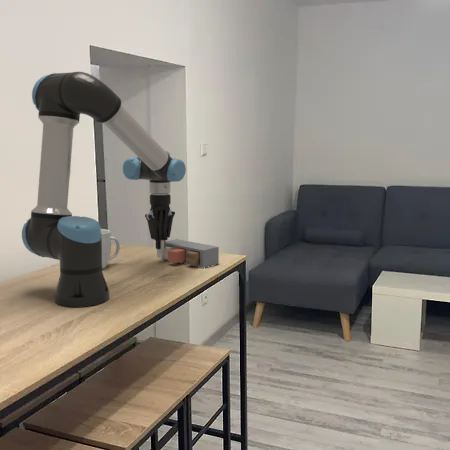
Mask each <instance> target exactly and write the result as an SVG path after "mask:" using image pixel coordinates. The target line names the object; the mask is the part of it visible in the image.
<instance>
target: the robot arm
mask: <svg viewBox="0 0 450 450" xmlns="http://www.w3.org/2000/svg"><path fill="white" fill-rule="evenodd" d="M31 98H32V99H31V100H32V104H33V105H35V109H36V110H37V111H38V120H40V122H41V123H42V137H41V151H40V163H39V165H40V166H39V177H38V187H37V188H38V190H37V191H38V192H37V201H36V204H37V205H36V206H35V207H33V209H31V212H30V218H29V219H27V220H26V222H25V223H24V224H23V226H22V229H21V239H22V243H23V245H24V247H25V248H26V249H27V250H28V251H29V252H30V253H31V254H33V255H36V256H38V257H41V258H49V259H53V260H59V276H58V277H59V278H58V281H57V285H56V288H55V291H54V301H55V303H56V304H57V305H60V306H63V307H71V308H72V307H73V308H79V307H80V308H81V307H90V306H91V307H92V306H96V305H100V304H103V303H105V302H107V301H108V300H109V299H110V290H109V287H108V284H107V282H106V278H105V275H104V273H103V269H102V234H101V229H102V228H101V224H100V222H99V221H97V220H96V219H94V218H92V217H89V216H88V217H87V216H79V215H73V213H72V212H71V211H70V210H69V208H68V203H69V190H70V177H71V163H72V150H73V138H74V128H75V127H76V126H77V125H78V124H79V123H80V118H81V114H82V115H85V116H86V115H87V116H88V117H90V118H91V119H93V120H94V121H95V122H96V123H98V124H102V125H103V124H104V126H106V127H107V129H108V130H109V131H110V132H112V133H113V134H114V135H115V136H116V137H117V139H119V140H120V141H121V142H122V143H123V144H124V145H125V146H126V147H127V148H128V149H129V150H130V151H131V152H132V153H134V154H135V156H137V157H135V156H133V157H127V158H126V159H125V160H124V162H123V164H122V172H123V175H124V177H125V178H126V179H128V180H132V181H133V180H134V181H138V180H146V181H149V193H150V195H149V204H150V210H149V212H148V213H145V214H144V218H145V219H146V221H147V224H148V231H149V235H150V239H152V240H153V241H154V242H155V250H156V258H159V259H161V258H165V250H164V248H165V247H166V241H169V238H170V237H171V233H172V232H171V231H172V226H173V221H174V218H175V217H174V216H175V214H176V212H175V211H173V210H171V207H170V205H171V202H172V201H171V197H172V196H171V194H170V193H171V183H173V182H174V183H175V182H181V181H183V179H184V178H185V175H186V171H187V170H186V169H187V168H186V165H185V162H184V161H183V160H182V159H180V158H175V157H174V158H172V157H171V153H170V152H169V151H167V150H166V151H165V149H164V148H163V147H162V146H161V145H160V144H159V143H158V142H157V141H156V140H155V139H154V138H153V137H152V136H151V135H150V133H149V132H148V131H147V130H145V128H144V127H143V126H142V125H141V124H140V122H138V120H136V119H135V118H134V117H133V116H132V114H131V113H130V112H129V111H128V110H127V109H126V108H125V107H124V106H123V101H122V99H121V98H120V97H119V96H118V94H117V93H115V92H114V91H113V89H111V88H110V87H109V86H108V85H107V84H105V83H104V82H103V81H102V80H101V79H99V78H97V77H95V76H94V75H93V74H89V73H88V72H84V71H71V72H57V73H56V72H52V73H50V74H46V75H43V76H41V77H40V78H39V79H37V81H36V82H35V84H34V85H33V88H32V91H31Z"/></svg>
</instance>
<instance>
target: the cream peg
mask: <svg viewBox="0 0 450 450" xmlns="http://www.w3.org/2000/svg"><path fill="white" fill-rule="evenodd" d="M164 250H165V258H166V259H168V250H173V246H168V245H166V247H165V248H164Z"/></svg>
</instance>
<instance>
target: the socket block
mask: <svg viewBox="0 0 450 450" xmlns="http://www.w3.org/2000/svg"><path fill="white" fill-rule="evenodd" d="M166 245H168V246H173V249H178V248H183V249H186V252H190V251H198V252H200V264H197V265H194V266H193V267H195V266H199V267H198V268H200V267H203V268H202V269H205V268H204V267H207V268H209V267H208V266H210V267H213V266H212V265H214V266H217V265H216V264H218V265H219V261H220V260H219V258H220V257H219V255H220V254H219V251H220V250H219V249H220V247H219V246H215V245H210V244H206V243H205V244H204V243H199V242H195V241H190V240H189V241H188V240H184V239H180V238H179V239H178V238H174V239H170V240H169V239H168V240H166ZM160 259H161V260H165V261H168V259H166V258H160ZM179 263H180V264H182V263H184V264H183V265H187V264H188V263H187V258H186V261H182V262H179ZM191 265H192V264H190V265H189V266H191Z"/></svg>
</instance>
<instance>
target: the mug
mask: <svg viewBox="0 0 450 450" xmlns="http://www.w3.org/2000/svg"><path fill="white" fill-rule="evenodd" d="M101 234H102V270H103V269H105V268H107V267H108V266H107V265H108V264H109V261H112V260H113V259H115V258H116V257H117V256H118V255H119V252H120V250H121V249H120V247H121V245H120V242H119V239H117V238H116V237H114V236H111V234H112V233H111V230H110V229H105V228H101ZM112 240H113V241H114V242H115V244H116V249H115V252H114V253H113V254H112V255H111V253H112V251H111V249H112V248H111V247H112Z"/></svg>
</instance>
